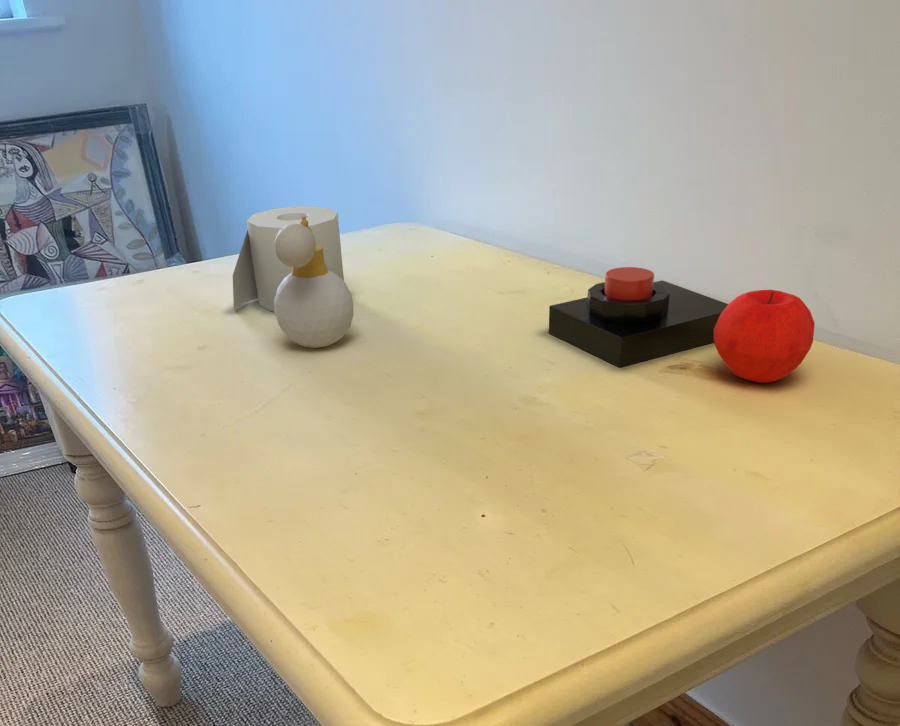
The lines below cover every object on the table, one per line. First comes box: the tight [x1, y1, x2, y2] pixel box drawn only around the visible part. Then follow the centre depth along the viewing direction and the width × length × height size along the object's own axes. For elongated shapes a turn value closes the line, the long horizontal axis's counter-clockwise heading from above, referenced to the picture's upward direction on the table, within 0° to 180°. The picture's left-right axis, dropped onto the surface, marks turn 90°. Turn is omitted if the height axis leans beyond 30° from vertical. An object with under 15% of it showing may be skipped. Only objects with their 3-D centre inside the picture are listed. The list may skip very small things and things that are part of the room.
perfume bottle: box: [273, 216, 354, 349], centre depth 86 cm, size 8×10×12 cm
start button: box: [604, 266, 655, 300], centre depth 86 cm, size 4×4×2 cm
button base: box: [548, 280, 729, 368], centre depth 88 cm, size 14×11×4 cm
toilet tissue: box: [232, 205, 345, 312], centre depth 99 cm, size 9×13×9 cm
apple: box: [713, 289, 815, 384], centre depth 78 cm, size 8×8×7 cm
